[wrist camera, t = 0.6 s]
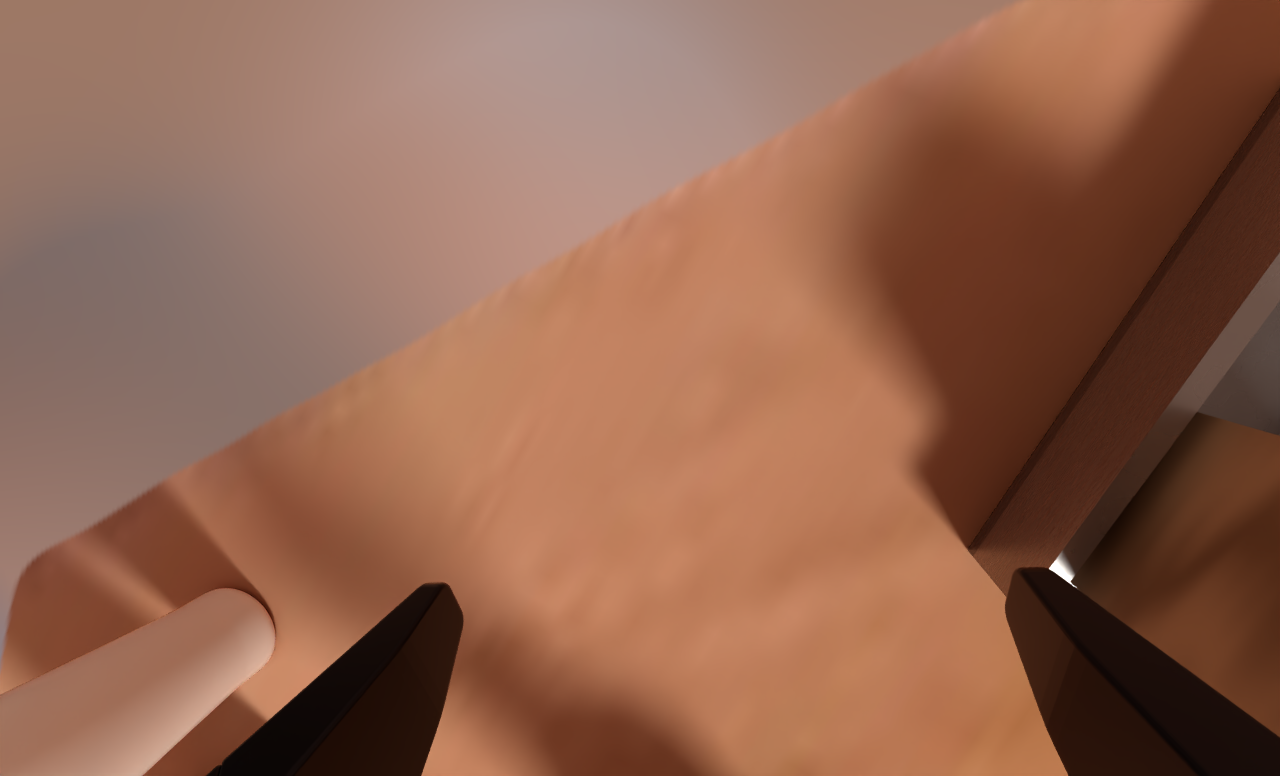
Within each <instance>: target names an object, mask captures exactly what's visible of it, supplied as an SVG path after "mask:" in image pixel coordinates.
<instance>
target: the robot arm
mask: <svg viewBox="0 0 1280 776" xmlns="http://www.w3.org/2000/svg"><path fill="white" fill-rule="evenodd" d="M1005 613H1006V618H1007V621H1008V624H1009V627H1010V630H1011V633H1012V635H1013V638H1014V641H1015V644H1016V647H1017V649H1018V652H1019V655H1020V658H1021V661H1022V663H1023V666H1024V669H1025V672H1026V674H1027V677H1028V680H1029V683H1030V686H1031V688H1032V691H1033V694H1034V697H1035V700H1036V702H1037V705H1038V708H1039V711H1040V713H1041V716H1042V718H1043V721H1044V724H1045V726H1046V729H1047V731H1048V733H1049V735H1050V738H1051V740H1052V742H1053V744H1054V746H1055V748H1056V751H1057V753H1058V755H1059V757H1060V759H1061V761H1062V763H1063V765H1064V767H1065V769H1066V771H1067V773H1068V776H1280V737H1279V736H1278V735H1276V734H1275V733H1274V732H1272V731H1271V730H1269V729H1268V728H1267V727H1265V726H1264V725H1263V724H1261V723H1260V722H1259V721H1257V720H1256V719H1254V718H1253V717H1252V716H1250V715H1249V714H1248V713H1246V712H1245V711H1244V710H1242V709H1241V708H1239V707H1238V706H1237V705H1235V704H1234V703H1233V702H1231V701H1230V700H1229V699H1227V698H1226V697H1224V696H1223V695H1222V694H1220V693H1219V692H1218V691H1216V690H1215V689H1214V688H1212V687H1211V686H1209V685H1208V684H1207V683H1205V682H1204V681H1203V680H1201V679H1200V678H1198V677H1197V676H1196V675H1194V674H1193V673H1192V672H1190V671H1189V670H1188V669H1186V668H1185V667H1183V666H1182V665H1181V664H1179V663H1178V662H1177V661H1175V660H1174V659H1173V658H1171V657H1170V656H1168V655H1167V654H1166V653H1164V652H1163V651H1162V650H1160V649H1159V648H1158V647H1156V646H1155V645H1153V644H1152V643H1151V642H1149V641H1148V640H1147V639H1145V638H1144V637H1143V636H1141V635H1140V634H1138V633H1137V632H1136V631H1134V630H1133V629H1132V628H1130V627H1129V626H1128V625H1126V624H1125V623H1123V622H1122V621H1121V620H1119V619H1118V618H1117V617H1115V616H1114V615H1113V614H1111V613H1110V612H1108V611H1107V610H1106V609H1104V608H1103V607H1102V606H1100V605H1099V604H1098V603H1096V602H1095V601H1093V600H1092V599H1091V598H1089V597H1088V596H1087V595H1085V594H1084V593H1083V592H1081V591H1080V590H1078V589H1077V588H1076V587H1074V586H1073V585H1072V584H1070V583H1069V582H1068V581H1066V580H1065V579H1063V578H1062V577H1061V576H1059V575H1058V574H1057V573H1055V572H1054V571H1052V570H1050V569H1048V568H1045V567H1020V568H1017V569H1015V570H1014V571H1013V574H1012V577H1011V581H1010V585H1009V590H1008V594H1007V598H1006V602H1005ZM462 629H463V613H462V610H461V608H460V606H459V604H458V602H457V600H456V598H455V596H454V594H453V592H452V590H451V588H450V586H449V585H448V584H446V583H443V582H441V583H425V584H423V585H421V586H420V587H419V588H417V589H416V590H415V591H414V592H413V593H412V594H411V595H409V596H408V597H407V598H406V599H405V600H404V601H403V602H402V603H400V604H399V605H398V606H397V607H396V608H395V609H394V610H393V611H391V612H390V613H389V614H388V615H387V616H386V617H385V618H384V619H382V620H381V621H380V622H379V623H378V624H377V625H376V626H375V627H373V628H372V629H371V630H370V631H369V632H368V633H367V634H365V635H364V636H363V637H362V638H361V639H360V640H359V641H358V642H356V643H355V644H354V645H353V646H352V647H351V648H350V649H349V650H347V651H346V652H345V653H344V654H343V655H342V656H341V657H340V658H338V659H337V660H336V661H335V662H334V663H333V664H332V665H330V666H329V667H328V668H327V669H326V670H325V671H324V672H323V673H321V674H320V675H319V676H318V677H317V678H316V679H315V680H314V681H312V682H311V683H310V684H309V685H308V686H307V687H306V688H305V689H303V690H302V691H301V692H300V693H299V694H298V695H297V696H296V697H294V698H293V699H292V700H291V701H290V702H289V703H288V704H286V705H285V706H284V707H283V708H282V709H281V710H280V711H279V712H277V713H276V714H275V715H274V716H273V717H272V718H271V719H270V720H268V721H267V722H266V723H265V724H264V725H263V726H262V727H261V728H259V729H258V730H257V731H256V732H255V733H254V734H253V735H251V736H250V737H249V738H248V739H247V740H246V741H245V742H244V743H242V744H241V745H240V746H239V747H238V748H237V749H236V750H235V751H233V752H232V753H231V754H230V755H229V756H228V757H227V758H226V759H224V761H223V762H222V765H218V766H216V767H215V768H214V769H213V770H212V771H211V772H210V773H208V774H207V775H206V776H421V775H422V772H423V769H424V766H425V763H426V760H427V757H428V754H429V751H430V748H431V745H432V743H433V740H434V737H435V734H436V731H437V728H438V725H439V721H440V718H441V715H442V711H443V708H444V704H445V700H446V696H447V692H448V687H449V683H450V679H451V675H452V671H453V666H454V662H455V658H456V654H457V650H458V645H459V641H460V637H461V633H462Z"/></svg>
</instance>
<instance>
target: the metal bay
mask: <svg viewBox="0 0 1280 776" xmlns="http://www.w3.org/2000/svg"><path fill="white" fill-rule="evenodd" d="M1196 412H1199V413H1202V414H1206V415H1209V416H1213V417H1216V418H1220V419H1223V420H1227V421H1230V422H1234V423H1237V424H1240V425H1244V426H1247V427H1251V428H1254V429H1258V430H1261V431H1265V432H1268V433H1272V434H1275V435H1279V436H1280V90H1279V91H1278V92H1277V94H1276V95H1275V97H1274V98H1273V100H1272V101H1271V103H1270V104H1269V106H1268V107H1267V109H1266V110H1265V112H1264V113H1263V115H1262V116H1261V118H1260V119H1259V121H1258V122H1257V123H1256V125H1255V126H1254V128H1253V129H1252V131H1251V132H1250V134H1249V135H1248V137H1247V138H1246V140H1245V141H1244V143H1243V144H1242V146H1241V147H1240V149H1239V150H1238V152H1237V153H1236V154H1235V156H1234V157H1233V159H1232V160H1231V162H1230V163H1229V165H1228V166H1227V168H1226V169H1225V171H1224V172H1223V174H1222V175H1221V177H1220V178H1219V180H1218V181H1217V183H1216V184H1215V185H1214V187H1213V188H1212V190H1211V191H1210V193H1209V194H1208V196H1207V197H1206V199H1205V200H1204V202H1203V203H1202V205H1201V206H1200V208H1199V209H1198V211H1197V212H1196V213H1195V215H1194V216H1193V218H1192V219H1191V221H1190V222H1189V224H1188V225H1187V227H1186V228H1185V230H1184V231H1183V233H1182V234H1181V236H1180V237H1179V239H1178V240H1177V242H1176V243H1175V244H1174V246H1173V247H1172V249H1171V250H1170V252H1169V253H1168V255H1167V256H1166V258H1165V259H1164V261H1163V262H1162V264H1161V265H1160V267H1159V268H1158V270H1157V271H1156V273H1155V274H1154V275H1153V277H1152V278H1151V280H1150V281H1149V283H1148V284H1147V286H1146V287H1145V289H1144V290H1143V292H1142V293H1141V295H1140V296H1139V298H1138V299H1137V301H1136V302H1135V303H1134V305H1133V306H1132V308H1131V309H1130V311H1129V312H1128V314H1127V315H1126V317H1125V318H1124V320H1123V321H1122V323H1121V324H1120V326H1119V327H1118V329H1117V330H1116V332H1115V333H1114V334H1113V336H1112V337H1111V339H1110V340H1109V342H1108V343H1107V345H1106V346H1105V348H1104V349H1103V351H1102V352H1101V354H1100V355H1099V357H1098V358H1097V360H1096V361H1095V363H1094V364H1093V365H1092V367H1091V368H1090V370H1089V371H1088V373H1087V374H1086V376H1085V377H1084V379H1083V380H1082V382H1081V383H1080V385H1079V386H1078V388H1077V389H1076V391H1075V392H1074V394H1073V395H1072V396H1071V398H1070V399H1069V401H1068V402H1067V404H1066V405H1065V407H1064V408H1063V410H1062V411H1061V413H1060V414H1059V416H1058V417H1057V419H1056V420H1055V422H1054V423H1053V424H1052V426H1051V427H1050V429H1049V430H1048V432H1047V433H1046V435H1045V436H1044V438H1043V439H1042V441H1041V442H1040V444H1039V445H1038V447H1037V448H1036V450H1035V451H1034V453H1033V454H1032V455H1031V457H1030V458H1029V460H1028V461H1027V463H1026V464H1025V466H1024V467H1023V469H1022V470H1021V472H1020V473H1019V475H1018V476H1017V478H1016V479H1015V481H1014V482H1013V484H1012V485H1011V486H1010V488H1009V489H1008V491H1007V492H1006V494H1005V495H1004V497H1003V498H1002V500H1001V501H1000V503H999V504H998V506H997V507H996V509H995V510H994V512H993V513H992V515H991V516H990V517H989V519H988V520H987V522H986V523H985V525H984V526H983V528H982V529H981V531H980V532H979V534H978V535H977V537H976V538H975V540H974V541H973V543H972V544H971V545H970V547H969V548H968V551H969V552H970V554H971V555H972V556H973V557H974V558H975V560H976V561H977V562H978V563H979V564H980V566H981V567H982V568H983V569H984V570H985V572H986V573H987V574H988V575H989V576H990V578H991V579H992V580H993V581H994V583H995V584H996V585H997V586H998V587H999V589H1000V590H1001V591H1002V592H1003V593H1004V595H1005V596H1006V597H1007V594H1008V590H1009V585H1010V581H1011V577H1012V574H1013V571H1014V570H1015V569H1017V568H1020V567H1045V568H1048V569H1050V570H1052V571H1054V572H1055V573H1057V574H1058V575H1059V576H1061V577H1062V578H1063V579H1065V580H1066V581H1068V582H1069V583H1070V584H1072V583H1071V582H1070V581H1071V580H1072V579H1073V577H1074V576H1075V575H1076V573H1077V572H1078V571H1079V569H1080V568H1081V567H1082V565H1083V564H1084V563H1085V561H1086V560H1087V559H1088V557H1089V556H1090V555H1091V553H1092V552H1093V551H1094V549H1095V548H1096V546H1097V545H1098V544H1099V542H1100V541H1101V540H1102V538H1103V537H1104V536H1105V534H1106V533H1107V532H1108V530H1109V529H1110V528H1111V526H1112V525H1113V524H1114V522H1115V521H1116V520H1117V518H1118V517H1119V516H1120V514H1121V513H1122V512H1123V510H1124V509H1125V508H1126V506H1127V505H1128V504H1129V502H1130V501H1131V500H1132V498H1133V497H1134V496H1135V494H1136V493H1137V492H1138V490H1139V489H1140V488H1141V486H1142V485H1143V483H1144V482H1145V481H1146V479H1147V478H1148V477H1149V475H1150V474H1151V473H1152V471H1153V470H1154V469H1155V467H1156V466H1157V465H1158V463H1159V462H1160V461H1161V459H1162V458H1163V457H1164V455H1165V454H1166V453H1167V451H1168V450H1169V449H1170V447H1171V446H1172V445H1173V443H1174V442H1175V441H1176V439H1177V438H1178V437H1179V435H1180V434H1181V433H1182V431H1183V430H1184V429H1185V427H1186V426H1187V425H1188V423H1189V422H1190V420H1191V419H1192V418H1193V416H1194V415H1195V414H1196ZM1072 585H1073V584H1072ZM1073 586H1074V585H1073ZM1074 587H1075V586H1074Z"/></svg>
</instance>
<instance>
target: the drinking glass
mask: <svg viewBox="0 0 1280 776" xmlns="http://www.w3.org/2000/svg"><path fill="white" fill-rule="evenodd" d="M275 642H276V634H275V629H274V625H273V622H272V619H271V617H270V615H269V614H268V612H267V611H266V609H265V608H264V607H263V606H262V604H261V603H260V602H259V601H257V600H256V599H255V598H254V597H252V596H251V595H249V594H247V593H245V592H243V591H240V590H237V589H232V588H220V589H215V590H212V591H209V592H206V593H204V594H203V595H201V596H199V597H197V598H195V599H194V600H192V601H190V602H188V603H187V604H185V605H183V606H181V607H180V608H178V609H176V610H174V611H172V612H170V613H168V614H166V615H164V616H162V617H160V618H158V619H156V620H154V621H152V622H150V623H148V624H146V625H144V626H142V627H140V628H138V629H136V630H133V631H131V632H129V633H127V634H125V635H123V636H121V637H119V638H117V639H115V640H113V641H111V642H109V643H107V644H105V645H103V646H101V647H98V648H96V649H94V650H92V651H90V652H88V653H86V654H84V655H82V656H80V657H78V658H76V659H74V660H72V661H69V662H67V663H65V664H63V665H61V666H59V667H57V668H55V669H53V670H51V671H49V672H47V673H44V674H42V675H40V676H38V677H36V678H34V679H32V680H30V681H28V682H26V683H24V684H22V685H19V686H17V687H15V688H13V689H11V690H9V691H7V692H5V693H3V694H1V695H0V776H143V775H144V774H145V773H146V772H147V771H148V770H149V769H151V768H152V767H153V766H154V765H155V764H156V763H157V762H158V761H159V760H160V759H161V758H162V757H163V756H165V755H166V754H167V753H168V752H169V751H170V750H171V749H172V748H173V747H174V746H175V745H176V744H177V743H179V742H180V741H181V740H182V739H183V738H184V737H185V736H186V735H187V734H188V733H189V732H190V731H191V730H193V729H194V728H195V727H196V726H197V725H198V724H199V723H200V722H201V721H202V720H203V719H204V718H206V717H207V716H208V715H209V714H210V713H211V712H212V711H213V710H214V709H215V708H216V707H218V706H219V705H220V704H221V703H222V702H223V701H224V700H225V699H226V698H227V697H228V696H230V695H231V694H232V693H233V692H234V691H235V690H236V689H237V688H238V687H240V686H241V685H242V684H243V683H245V682H246V681H247V680H248V679H250V678H251V677H252V676H253V675H255V674H256V673H257V672H258V671H260V670H261V669H262V668H263V667H264V666H265V665H266V664H267V662H268V661H269V659H270V658H271V656H272V654H273V651H274V648H275Z"/></svg>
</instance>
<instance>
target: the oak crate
mask: <svg viewBox="0 0 1280 776" xmlns="http://www.w3.org/2000/svg"><path fill="white" fill-rule="evenodd" d="M1070 582H1071V583H1072V584H1073V585H1074V586H1075V587H1076V588H1077V589H1078V590H1080V591H1081V592H1083V593H1084V594H1085V595H1087V596H1088V597H1089V598H1091V599H1092V600H1093V601H1095V602H1096V603H1098V604H1099V605H1100V606H1102V607H1103V608H1104V609H1106V610H1107V611H1108V612H1110V613H1111V614H1113V615H1114V616H1115V617H1117V618H1118V619H1119V620H1121V621H1122V622H1123V623H1125V624H1126V625H1128V626H1129V627H1130V628H1132V629H1133V630H1134V631H1136V632H1137V633H1138V634H1140V635H1141V636H1143V637H1144V638H1145V639H1147V640H1148V641H1149V642H1151V643H1152V644H1153V645H1155V646H1156V647H1158V648H1159V649H1160V650H1162V651H1163V652H1164V653H1166V654H1167V655H1168V656H1170V657H1171V658H1173V659H1174V660H1175V661H1177V662H1178V663H1179V664H1181V665H1182V666H1183V667H1185V668H1186V669H1188V670H1189V671H1190V672H1192V673H1193V674H1194V675H1196V676H1197V677H1198V678H1200V679H1201V680H1203V681H1204V682H1205V683H1207V684H1208V685H1209V686H1211V687H1212V688H1214V689H1215V690H1216V691H1218V692H1219V693H1220V694H1222V695H1223V696H1224V697H1226V698H1227V699H1229V700H1230V701H1231V702H1233V703H1234V704H1235V705H1237V706H1238V707H1239V708H1241V709H1242V710H1244V711H1245V712H1246V713H1248V714H1249V715H1250V716H1252V717H1253V718H1254V719H1256V720H1257V721H1259V722H1260V723H1261V724H1263V725H1264V726H1265V727H1267V728H1268V729H1269V730H1271V731H1272V732H1274V733H1275V734H1276V735H1278V736H1279V737H1280V436H1279V435H1275V434H1272V433H1268V432H1265V431H1261V430H1258V429H1254V428H1251V427H1247V426H1244V425H1240V424H1237V423H1234V422H1230V421H1227V420H1223V419H1220V418H1216V417H1213V416H1209V415H1206V414H1202V413H1199V412H1196V414H1195V415H1194V416H1193V418H1192V419H1191V420H1190V422H1189V423H1188V425H1187V426H1186V427H1185V429H1184V430H1183V431H1182V433H1181V434H1180V435H1179V437H1178V438H1177V439H1176V441H1175V442H1174V443H1173V445H1172V446H1171V447H1170V449H1169V450H1168V451H1167V453H1166V454H1165V455H1164V457H1163V458H1162V459H1161V461H1160V462H1159V463H1158V465H1157V466H1156V467H1155V469H1154V470H1153V471H1152V473H1151V474H1150V475H1149V477H1148V478H1147V479H1146V481H1145V482H1144V483H1143V485H1142V486H1141V488H1140V489H1139V490H1138V492H1137V493H1136V494H1135V496H1134V497H1133V498H1132V500H1131V501H1130V502H1129V504H1128V505H1127V506H1126V508H1125V509H1124V510H1123V512H1122V513H1121V514H1120V516H1119V517H1118V518H1117V520H1116V521H1115V522H1114V524H1113V525H1112V526H1111V528H1110V529H1109V530H1108V532H1107V533H1106V534H1105V536H1104V537H1103V538H1102V540H1101V541H1100V542H1099V544H1098V545H1097V546H1096V548H1095V549H1094V551H1093V552H1092V553H1091V555H1090V556H1089V557H1088V559H1087V560H1086V561H1085V563H1084V564H1083V565H1082V567H1081V568H1080V569H1079V571H1078V572H1077V573H1076V575H1075V576H1074V577H1073V579H1072V580H1071V581H1070Z"/></svg>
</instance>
